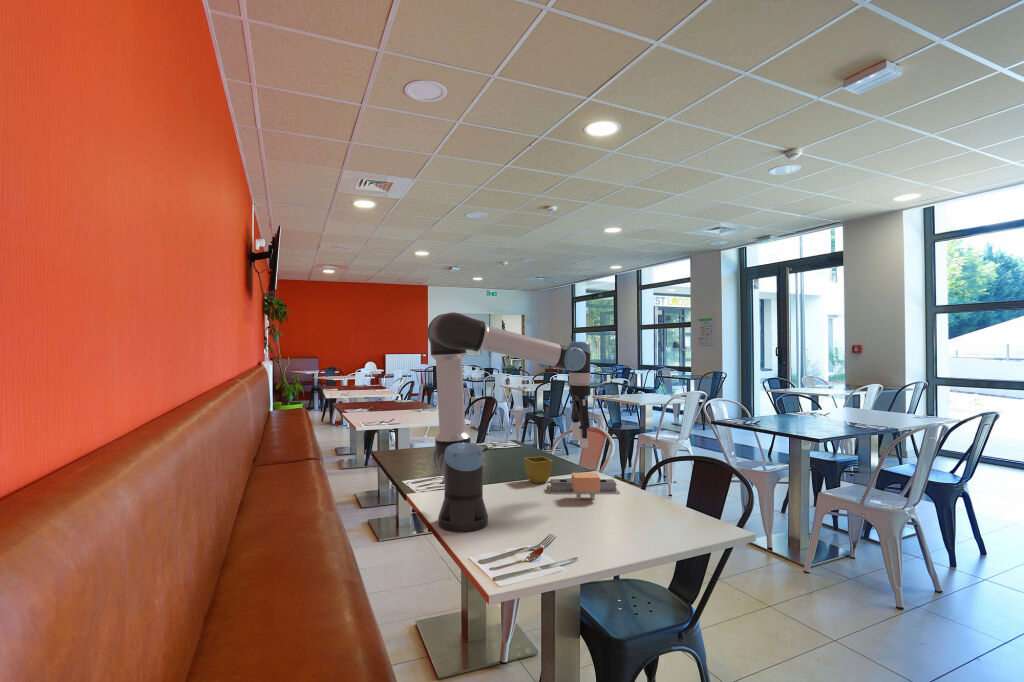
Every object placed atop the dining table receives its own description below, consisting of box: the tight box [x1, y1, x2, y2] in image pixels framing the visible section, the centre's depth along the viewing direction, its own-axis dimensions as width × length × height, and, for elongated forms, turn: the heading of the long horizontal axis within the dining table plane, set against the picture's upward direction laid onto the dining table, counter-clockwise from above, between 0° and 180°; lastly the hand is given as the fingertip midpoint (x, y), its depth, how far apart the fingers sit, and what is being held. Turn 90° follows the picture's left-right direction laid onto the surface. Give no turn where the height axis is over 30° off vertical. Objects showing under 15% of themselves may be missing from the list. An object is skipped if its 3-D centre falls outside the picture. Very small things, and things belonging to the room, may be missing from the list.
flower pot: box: [523, 456, 553, 484], centre depth 207 cm, size 9×9×9 cm
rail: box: [546, 478, 621, 495], centre depth 196 cm, size 10×26×3 cm, turn 92°
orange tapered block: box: [571, 472, 601, 501], centre depth 185 cm, size 9×7×8 cm
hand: (579, 443), depth 186 cm, fingers open, 13 cm apart
